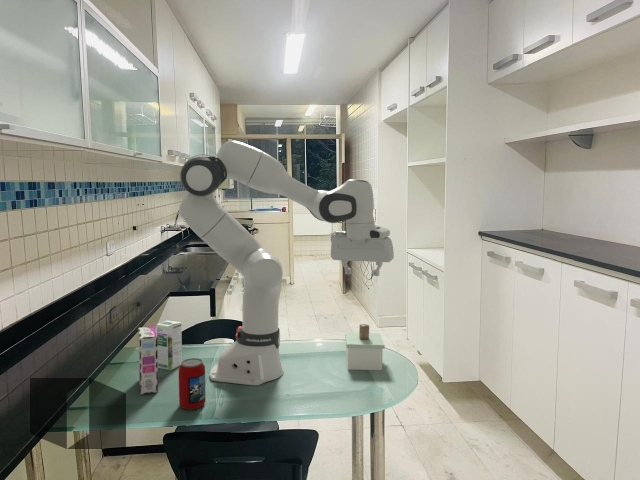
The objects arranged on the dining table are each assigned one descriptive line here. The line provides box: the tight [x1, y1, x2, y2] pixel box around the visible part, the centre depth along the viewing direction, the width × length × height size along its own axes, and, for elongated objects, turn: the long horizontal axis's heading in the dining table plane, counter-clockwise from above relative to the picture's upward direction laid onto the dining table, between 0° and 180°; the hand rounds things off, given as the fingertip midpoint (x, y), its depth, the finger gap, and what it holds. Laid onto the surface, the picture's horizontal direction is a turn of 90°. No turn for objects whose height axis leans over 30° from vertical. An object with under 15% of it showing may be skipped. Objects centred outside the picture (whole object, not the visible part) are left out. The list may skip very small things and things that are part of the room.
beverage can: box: [178, 357, 206, 411], centre depth 121 cm, size 7×7×12 cm
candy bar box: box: [137, 325, 159, 396], centre depth 132 cm, size 11×5×16 cm, turn 23°
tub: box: [345, 347, 384, 371], centre depth 150 cm, size 11×11×8 cm
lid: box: [344, 323, 386, 350], centre depth 150 cm, size 12×12×7 cm
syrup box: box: [155, 320, 183, 372], centre depth 147 cm, size 6×6×14 cm
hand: (362, 274), depth 144 cm, fingers open, 8 cm apart
